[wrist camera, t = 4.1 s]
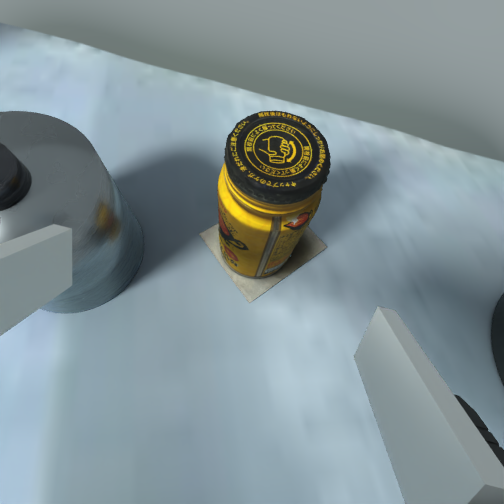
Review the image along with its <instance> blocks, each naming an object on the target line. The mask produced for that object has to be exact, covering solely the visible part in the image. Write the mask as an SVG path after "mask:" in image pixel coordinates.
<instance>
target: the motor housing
mask: <svg viewBox="0 0 504 504" xmlns="http://www.w3.org/2000/svg"><path fill="white" fill-rule="evenodd" d="M53 224H56V225H60V226H64V227H68V228H72V286H71V287H69V288H68V289H67V290H65V291H64V292H62V293H61V294H59V295H58V296H57V297H55V298H54V299H52V300H51V301H49V302H48V303H47V304H45V305H44V306H42V307H41V308H39V309H42V310H45V311H49V312H54V313H77V312H82V311H87V310H90V309H93V308H96V307H98V306H100V305H102V304H104V303H106V302H108V301H109V300H111V299H113V298H114V297H115V296H117V295H118V294H119V293H120V292H121V291H122V290H124V289H125V288H126V286H127V285H128V284H129V283H130V282H131V281H132V279H133V278H134V276H135V275H136V273H137V271H138V269H139V267H140V264H141V261H142V258H143V253H144V237H143V233H142V230H141V227H140V225H139V223H138V221H137V220H136V218H135V216H134V215H133V213H132V211H131V210H130V208H129V206H128V204H127V203H126V201H125V199H124V198H123V196H122V194H121V193H120V191H119V189H118V188H117V186H116V184H115V183H114V181H113V179H112V178H111V176H110V174H109V172H108V171H107V169H106V167H105V166H104V164H103V162H102V161H101V159H100V157H99V156H98V154H97V152H96V151H95V149H94V147H93V146H92V144H91V143H90V141H89V140H88V139H87V138H86V137H85V136H84V135H83V134H82V133H81V132H80V131H79V130H78V129H76V128H75V127H73V126H72V125H70V124H68V123H66V122H64V121H62V120H60V119H58V118H55V117H52V116H49V115H44V114H40V113H34V112H25V111H8V112H0V244H1V243H4V242H7V241H10V240H12V239H15V238H18V237H20V236H23V235H26V234H28V233H31V232H34V231H37V230H39V229H42V228H45V227H47V226H50V225H53Z"/></svg>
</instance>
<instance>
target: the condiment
mask: <svg viewBox="0 0 504 504" xmlns="http://www.w3.org/2000/svg"><path fill="white" fill-rule="evenodd" d="M224 158H225V163H224V165H223V167H222V170H221V172H220V176H219V180H218V190H217V191H218V208H219V209H218V211H219V223H218V224H216V225H214V226H212V227H211V228H209V229H207V230H205V231H204V232H202V233H199V235H200V236H201V238H202V239H203V240H204V242H205V243H206V244H207V246H208V247H209V249H210V250H211V252H212V253H213V254H214V256H215V257H216V258H217V260H218V261H219V263H220V264H221V265H222V267H223V268H224V269H225V271H226V272H227V274H228V275H229V276H230V278H231V279H232V280H233V282H234V283H235V284H236V286H237V287H238V288H239V290H240V291H241V292H242V294H243V295H244V297H245V298H246V299H247V301H248V302H249V303H250V302H252V301H253V300H254V299H256V298H257V297H259V296H260V295H261V294H263V293H264V292H266V291H267V290H269V289H270V288H271V287H273V286H274V285H276V284H277V283H278V282H280V281H281V280H282V279H284V278H285V277H287V276H288V275H289V274H291V273H292V272H293V271H295V270H296V269H297V268H299V267H300V266H302V265H303V264H305V263H306V262H307V261H309V260H310V259H312V258H313V257H314V256H316V255H317V254H318V253H320V252H321V251H322V250H324V249H325V248H327V246H326V245H325V244H324V243H323V242H322V241H321V240H320V239H319V238H318V237H317V236H316V235H315V234H314V232H313V231H312V230H311V229H310V228H309V227H308V225H309V223H310V221H311V219H312V218H313V216H314V215H315V213H316V211H317V209H318V206H319V204H320V200H321V191H322V186H323V184H324V183H325V182H326V181H327V176H328V174H329V173H330V171H329V168H330V165H331V164H330V153H329V149H328V144H327V141H326V139H325V138H324V137H323V135H322V134H321V133H320V131H319V130H317V129H316V127H315V126H314V125H313V124H311V123H309V122H308V121H307V120H305V119H304V118H302V117H300V116H296V115H293V114H290V113H287V112H282V111H262V112H259V113H255V114H252V115H250V116H248V117H246V118H245V119H243V120H241V121H240V122H238V123H237V124H236V126H235V128H234V129H233V131H232V132H231V133H230V134H229V135H228V138H227V142H226V148H225V157H224ZM290 255H291V257H290Z"/></svg>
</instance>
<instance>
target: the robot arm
mask: <svg viewBox="0 0 504 504" xmlns="http://www.w3.org/2000/svg"><path fill="white" fill-rule="evenodd" d="M71 286H72V228H68V227H64V226H60V225H56V224H53V225H50V226H47V227H45V228H42V229H39V230H37V231H34V232H31V233H28V234H26V235H23V236H20V237H18V238H15V239H12V240H10V241H7V242H4V243H1V244H0V336H1V335H2V334H4V333H5V332H7V331H8V330H9V329H11V328H12V327H14V326H15V325H17V324H18V323H19V322H21V321H22V320H24V319H25V318H27V317H28V316H29V315H31V314H32V313H34V312H35V311H37V310H38V309H39V308H41V307H42V306H44V305H45V304H47V303H48V302H49V301H51V300H52V299H54V298H55V297H57V296H58V295H59V294H61V293H62V292H64V291H65V290H67V289H68V288H69V287H71ZM492 347H493V354H494V358H495V362H496V366H497V369H498V372H499V375H500V377H501V380H502V382H503V385H504V295H503V296H502V298H501V299H500V301H499V303H498V305H497V307H496V310H495V313H494V317H493V322H492ZM354 359H355V361H356V364H357V367H358V370H359V373H360V376H361V378H362V381H363V384H364V387H365V390H366V393H367V396H368V398H369V401H370V404H371V407H372V410H373V413H374V416H375V418H376V421H377V424H378V427H379V430H380V433H381V436H382V438H383V441H384V444H385V447H386V450H387V453H388V456H389V458H390V461H391V464H392V467H393V470H394V473H395V476H396V478H397V481H398V484H399V487H400V490H401V493H402V496H403V498H404V501H405V504H504V450H503V448H502V447H499V443H498V442H497V440H496V439H495V438H494V436H493V435H492V433H491V432H488V428H487V427H486V425H485V424H484V422H483V421H482V420H481V418H480V417H479V416H478V414H477V413H476V412H475V411H474V410H473V409H472V408H471V407H470V406H469V405H468V404H467V403H466V402H465V401H464V400H463V399H462V398H461V397H460V396H458V395H454V394H453V393H452V392H451V390H450V389H449V387H448V386H447V384H446V383H445V381H444V380H443V379H442V377H441V376H440V374H439V373H438V371H437V370H436V368H435V367H434V366H433V364H432V363H431V361H430V360H429V358H428V357H427V355H426V354H425V353H424V351H423V350H422V348H421V347H420V345H419V344H418V342H417V341H416V340H415V338H414V337H413V335H412V334H411V332H410V331H409V329H408V328H407V327H406V325H405V324H404V322H403V321H402V319H401V318H400V316H399V315H398V313H397V312H396V311H395V310H391V309H387V308H383V307H379V306H378V307H377V309H376V311H375V313H374V315H373V317H372V319H371V321H370V323H369V326H368V328H367V330H366V332H365V334H364V336H363V338H362V340H361V342H360V344H359V347H358V349H357V351H356V353H355V355H354Z"/></svg>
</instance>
